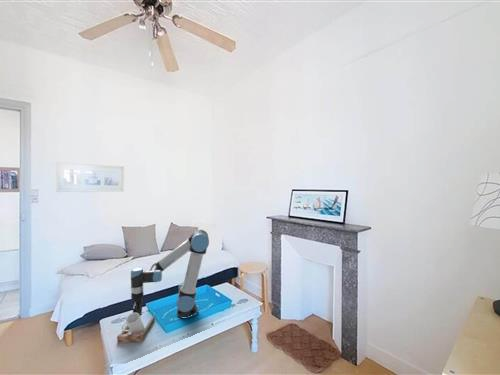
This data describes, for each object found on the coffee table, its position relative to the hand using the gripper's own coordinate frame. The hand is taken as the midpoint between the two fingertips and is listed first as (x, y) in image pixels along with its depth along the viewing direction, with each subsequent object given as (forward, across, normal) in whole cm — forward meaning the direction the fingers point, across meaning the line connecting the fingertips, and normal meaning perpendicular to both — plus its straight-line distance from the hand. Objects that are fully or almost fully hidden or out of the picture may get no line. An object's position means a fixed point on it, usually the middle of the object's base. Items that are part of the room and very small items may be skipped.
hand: (138, 325), depth 172 cm
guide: (+2, +2, 0) cm, 3 cm away
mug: (+1, +5, 0) cm, 5 cm away
